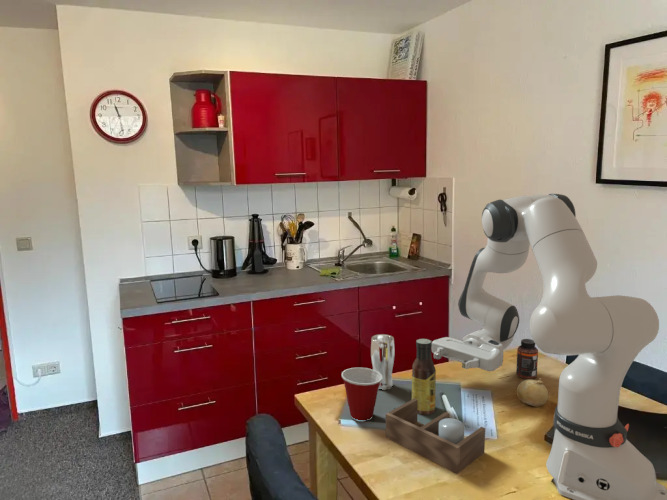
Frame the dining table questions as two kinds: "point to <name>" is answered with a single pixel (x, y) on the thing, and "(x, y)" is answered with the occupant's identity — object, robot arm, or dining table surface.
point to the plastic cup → (361, 391)
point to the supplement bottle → (527, 359)
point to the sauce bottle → (424, 378)
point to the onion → (532, 392)
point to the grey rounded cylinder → (451, 430)
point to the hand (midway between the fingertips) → (449, 361)
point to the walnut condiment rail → (432, 438)
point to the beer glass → (383, 358)
